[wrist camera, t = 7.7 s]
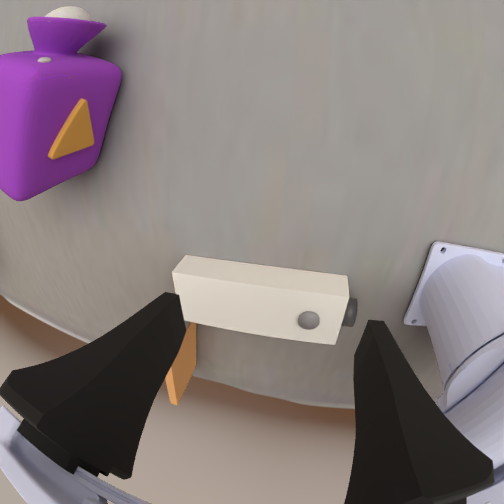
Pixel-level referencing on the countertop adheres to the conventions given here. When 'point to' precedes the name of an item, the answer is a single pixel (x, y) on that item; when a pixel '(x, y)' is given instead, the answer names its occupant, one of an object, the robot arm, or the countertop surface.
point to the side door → (182, 365)
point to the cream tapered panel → (264, 299)
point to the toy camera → (53, 104)
